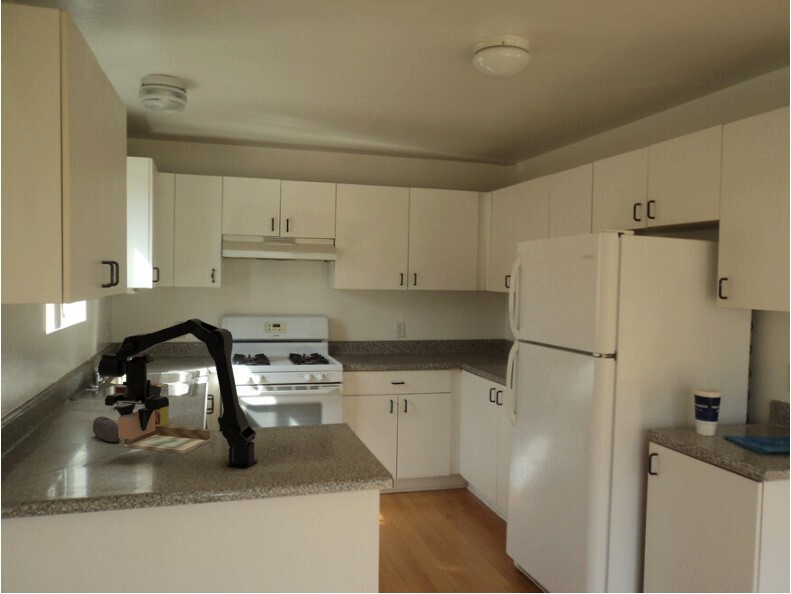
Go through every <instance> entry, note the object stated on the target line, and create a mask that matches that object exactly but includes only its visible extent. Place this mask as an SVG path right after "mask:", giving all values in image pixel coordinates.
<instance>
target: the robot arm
mask: <svg viewBox="0 0 791 594" xmlns="http://www.w3.org/2000/svg"><path fill="white" fill-rule="evenodd" d="M190 334H191V335H193V337H195V338H196V339H197V340H199V341H200V342H202V343H204V344H205V346H206V349H207V351H208V354H209V356H211V359H212V360H213V361H214V365H215V370H216V376H217V382H218V387H219V391H220V392H219V393H220V398H221V403H222V408H223V409H222V410H223V411H222V414H221V415H220V416H219V417H217V423H218V425H219V431H218V432H219V433H221V434H222V437H223V438H225V439H226V442H227V444H228V446H229V447H228V463H227V464H226V466H227V467H234V468H243V469H247V468H249V467H251V466H252V465H254V464H255V463H257V462H258V460H257V459H255V442H253V440H255V439H256V436H257V432H256V431H255V429H254V428H252V426H250V425H249V422H248V421H249V420H248V418H247V417H246V414H245V413H246V412H244V410H243V409H242V406H241V405H240V402H239V396H238V390H237V384H236V379H235V374H234V370H233V369H234V367H233V362H232V352H233V347H234V346H233V334H232V332H231V331H229V329H227V328H224V327H223V328H222V327H221V328H219V327H217V326H216V325H213V324H210V323H207V322H204V321H203V320H202V319H199V318H191V319H188V320H186V321H184V322H180V323H176V324H174V325H172V326H169V327H166V328H163V329H159V330H156V331H154V332H148V333H147V332H145V333H139V334H134V335H130V336H126V337H125V338H124V339H123V340H122V344H121V347H120V349H119V350H118V351H117V352H116V353H115V354H113V353H104V354H102V358H101V360H100V361H99V364H98V366H97V370H98V371H97V372H98V375H99V376H100V377H102V378H103V377H104V378H122V377H124V375H125V381H122V384H123V386H126V393H116V392H115V393H112V394H108V395H106V396H105V399H104V405H105V406H108V407H109V406H110V407H113V406H114V407H113V409H114V410H116V411H117V412H118V414H119V416H123V415H128V414H131V413H134V409H135V407H136V405H141V406H142V408H138V409H137V411H138V414H139V419H140V425H141V429H142V431H145V430H146V428H147V425H148V422H149V419H150V417H151V414H152V413H153V411H154V410H157V409H160V408H164V407H167V406H170V399H168V398H167V397H164V396H160V393H161V388H162V387H158V386H154V385H151V382H152V381H151V379H148V364H149V363H153V362H155V359H154V358H153V357H152V356H150V354H149V353H147V352H149V351H151V350H152V349H154V348H155V347H157V346H158V345H160V344H163V343H166V342H168V341H172V340H175V339H178V338H181V337H183V336H187V335H190ZM144 353H147V354H144ZM141 354H143V356H137V355H141ZM128 358H130V359H128ZM152 396H153V397H152ZM148 397H152V398H148ZM147 398H148V399H147ZM132 400H133V401H132Z"/></svg>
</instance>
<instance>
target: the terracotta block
mask: <svg viewBox="0 0 791 594" xmlns="http://www.w3.org/2000/svg"><path fill="white" fill-rule="evenodd" d="M117 420H118V422H117V425H118V437H119V438H120V439H133V438H136V437H139V436H142V435H145V434H147V433H150V432H153V431H155V411H153V413H152V414H151V417H150V419H149V422H148V425H147V428H146V430H145V431H142V429H141V425H140V419H139V414H138V410H137V411H135V412H134V411H133V413H131V414H128V415H123V416H121V415H119V416H118V419H117Z"/></svg>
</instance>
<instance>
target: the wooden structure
mask: <svg viewBox="0 0 791 594" xmlns="http://www.w3.org/2000/svg"><path fill="white" fill-rule="evenodd" d="M210 431H211V430H210V429H208V428H207V429H206V428H197V427H186V426H177V425H158V424H155V431H153V432H150V433H147V434H145V435H142V436H139V437H136V438H133V439H124V438H123V439H124V446H123V447H124V448H128V449H129V448H130V449H138V450H149V451H156V452H164V453H165V452H166V453H174V454H185V453H187V452H190V451H192V450H194V449H196V448H198V446H199V447H200V445H201V446H202V444H203V445H205V444H207V442H208V443H210V442H211V436H210V435H211V432H210ZM209 441H210V442H209ZM204 443H205V444H204Z"/></svg>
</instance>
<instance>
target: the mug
mask: <svg viewBox="0 0 791 594" xmlns="http://www.w3.org/2000/svg"><path fill="white" fill-rule="evenodd" d="M114 387H115V388H114V389H115V391H114V392H115V393H126V386H123V383H120V384H116V385H115V386H114ZM132 401H133V400H132Z"/></svg>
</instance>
